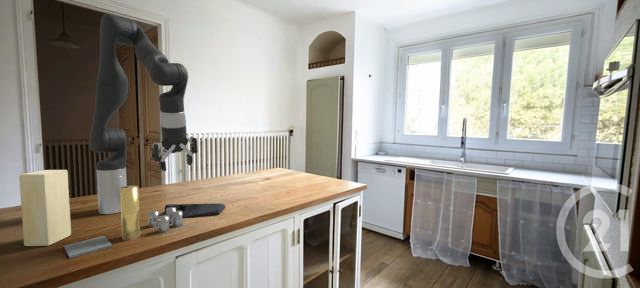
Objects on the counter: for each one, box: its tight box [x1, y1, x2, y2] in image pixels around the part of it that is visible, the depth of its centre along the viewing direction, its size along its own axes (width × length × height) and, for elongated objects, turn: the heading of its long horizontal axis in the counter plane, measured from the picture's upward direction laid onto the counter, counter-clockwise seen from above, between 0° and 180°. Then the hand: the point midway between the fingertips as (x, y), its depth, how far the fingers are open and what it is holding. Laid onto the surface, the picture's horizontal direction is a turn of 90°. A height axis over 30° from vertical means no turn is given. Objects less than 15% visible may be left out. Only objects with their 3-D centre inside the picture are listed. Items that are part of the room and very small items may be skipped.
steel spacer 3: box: [166, 207, 176, 224], centre depth 95 cm, size 3×3×5 cm
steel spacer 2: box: [157, 214, 170, 234], centre depth 87 cm, size 3×3×5 cm
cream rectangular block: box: [18, 169, 72, 247], centre depth 79 cm, size 8×7×21 cm
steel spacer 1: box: [147, 210, 160, 228], centre depth 92 cm, size 3×3×5 cm
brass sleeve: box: [120, 185, 141, 241], centre depth 82 cm, size 5×5×16 cm
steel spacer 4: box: [171, 210, 184, 228], centre depth 92 cm, size 3×3×5 cm
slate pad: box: [63, 235, 113, 259], centre depth 76 cm, size 9×9×1 cm
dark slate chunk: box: [163, 203, 226, 219], centre depth 106 cm, size 15×22×5 cm
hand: (177, 167), depth 94 cm, fingers open, 8 cm apart
